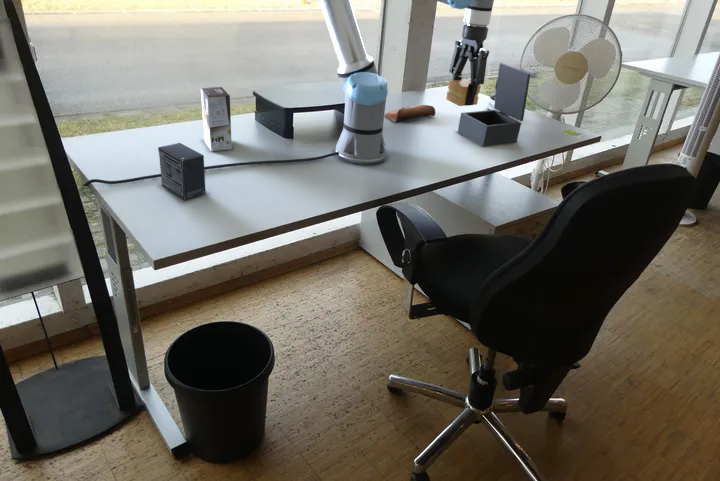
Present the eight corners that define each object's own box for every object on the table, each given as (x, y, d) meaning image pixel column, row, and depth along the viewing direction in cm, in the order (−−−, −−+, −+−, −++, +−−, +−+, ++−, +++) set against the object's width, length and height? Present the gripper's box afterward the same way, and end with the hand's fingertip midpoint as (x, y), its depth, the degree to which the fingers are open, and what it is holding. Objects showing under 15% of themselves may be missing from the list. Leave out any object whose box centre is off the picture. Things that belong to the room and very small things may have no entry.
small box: (207, 194, 136) (205, 154, 131) (184, 201, 132) (181, 161, 127) (183, 179, 142) (180, 141, 137) (160, 186, 138) (156, 146, 132)
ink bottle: (483, 107, 221) (490, 77, 215) (504, 108, 223) (510, 78, 217) (492, 115, 213) (499, 84, 207) (513, 116, 215) (521, 85, 209)
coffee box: (232, 149, 162) (230, 95, 153) (210, 151, 159) (207, 96, 151) (224, 138, 169) (222, 86, 160) (203, 140, 166) (199, 87, 157)
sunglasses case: (420, 109, 210) (428, 96, 205) (429, 123, 208) (438, 111, 202) (383, 114, 201) (390, 101, 195) (391, 129, 198) (399, 116, 193)
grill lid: (528, 74, 176) (545, 70, 179) (499, 63, 186) (516, 59, 189) (520, 121, 185) (537, 117, 188) (493, 108, 195) (510, 104, 198)
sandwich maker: (482, 146, 183) (487, 126, 179) (457, 132, 193) (461, 112, 189) (516, 142, 189) (521, 122, 186) (490, 128, 200) (494, 109, 196)
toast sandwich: (459, 106, 170) (462, 86, 167) (446, 99, 175) (449, 80, 172) (477, 104, 173) (480, 85, 170) (463, 97, 178) (467, 79, 175)
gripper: (508, 31, 156) (490, 110, 168) (465, 18, 171) (452, 91, 183) (487, 31, 153) (471, 112, 165) (446, 17, 168) (433, 92, 179)
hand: (461, 101), depth 174 cm, fingers closed on toast sandwich, 7 cm apart
